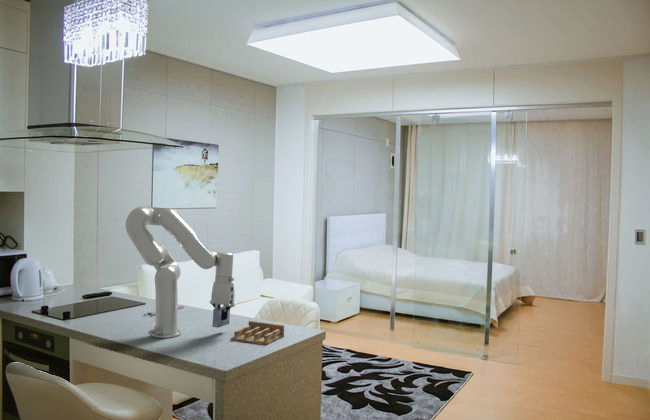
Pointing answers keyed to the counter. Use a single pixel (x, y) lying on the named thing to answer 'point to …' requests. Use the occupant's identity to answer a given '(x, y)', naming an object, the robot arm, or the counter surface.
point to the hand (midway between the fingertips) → (221, 318)
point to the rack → (259, 333)
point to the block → (219, 317)
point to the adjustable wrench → (155, 311)
